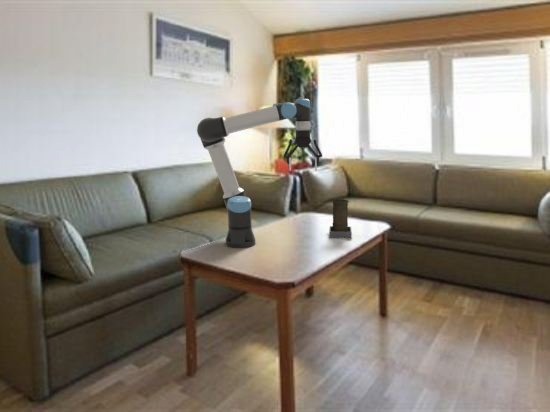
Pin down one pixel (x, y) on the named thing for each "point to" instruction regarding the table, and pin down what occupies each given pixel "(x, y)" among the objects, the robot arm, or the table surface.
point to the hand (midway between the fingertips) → (303, 170)
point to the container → (340, 215)
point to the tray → (340, 233)
